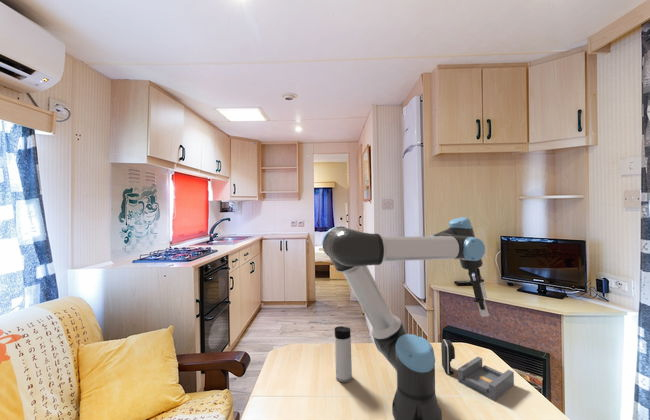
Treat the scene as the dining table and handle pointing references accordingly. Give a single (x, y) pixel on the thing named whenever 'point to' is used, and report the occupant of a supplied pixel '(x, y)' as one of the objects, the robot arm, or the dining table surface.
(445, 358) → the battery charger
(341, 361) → the travel mug
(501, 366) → the dining table surface
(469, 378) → the cradle
